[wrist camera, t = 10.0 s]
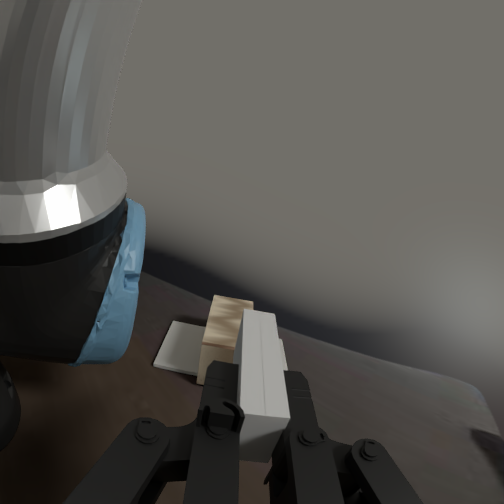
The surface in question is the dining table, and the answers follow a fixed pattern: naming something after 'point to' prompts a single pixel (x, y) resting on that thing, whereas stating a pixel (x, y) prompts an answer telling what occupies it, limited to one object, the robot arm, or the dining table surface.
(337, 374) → the dining table surface
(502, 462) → the dining table surface
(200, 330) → the mat
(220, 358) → the beech block
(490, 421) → the dining table surface
